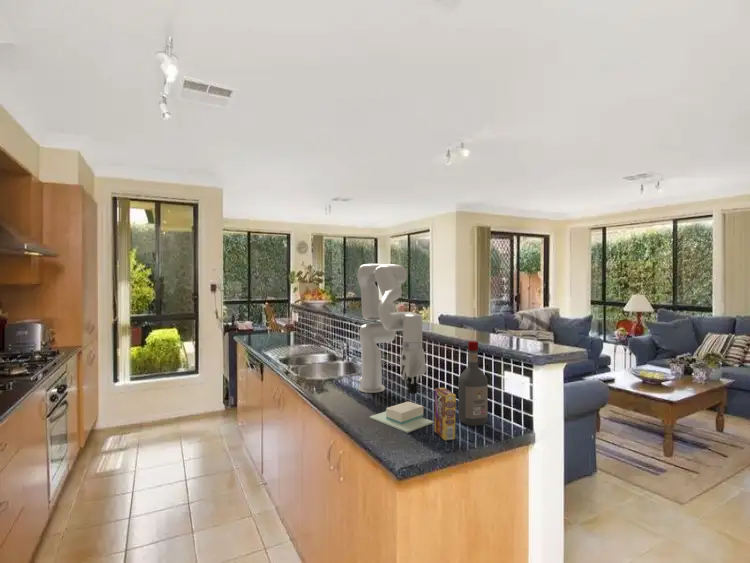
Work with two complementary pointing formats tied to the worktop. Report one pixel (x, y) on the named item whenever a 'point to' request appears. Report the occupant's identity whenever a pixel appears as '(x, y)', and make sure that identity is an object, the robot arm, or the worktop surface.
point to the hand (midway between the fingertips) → (412, 393)
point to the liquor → (473, 391)
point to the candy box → (445, 413)
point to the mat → (404, 427)
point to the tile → (404, 412)
